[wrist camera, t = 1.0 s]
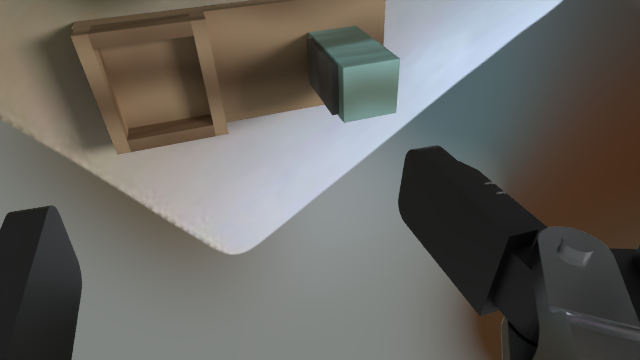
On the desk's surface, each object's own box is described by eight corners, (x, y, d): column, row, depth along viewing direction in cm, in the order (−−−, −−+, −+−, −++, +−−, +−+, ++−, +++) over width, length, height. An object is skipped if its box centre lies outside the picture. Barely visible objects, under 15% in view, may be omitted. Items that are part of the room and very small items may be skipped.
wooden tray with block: (74, 21, 29) (47, 70, 22) (378, -15, 34) (438, 14, 27) (117, 133, 35) (106, 202, 27) (374, 87, 40) (423, 135, 32)
